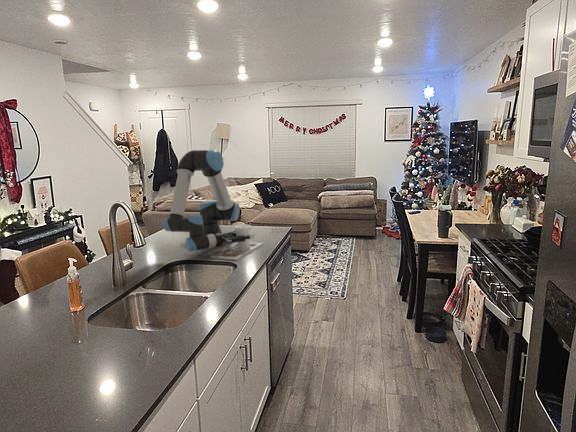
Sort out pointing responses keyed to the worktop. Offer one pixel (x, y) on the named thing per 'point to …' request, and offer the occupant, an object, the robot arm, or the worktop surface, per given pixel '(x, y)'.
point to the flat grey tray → (235, 252)
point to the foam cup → (242, 231)
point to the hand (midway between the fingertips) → (250, 234)
